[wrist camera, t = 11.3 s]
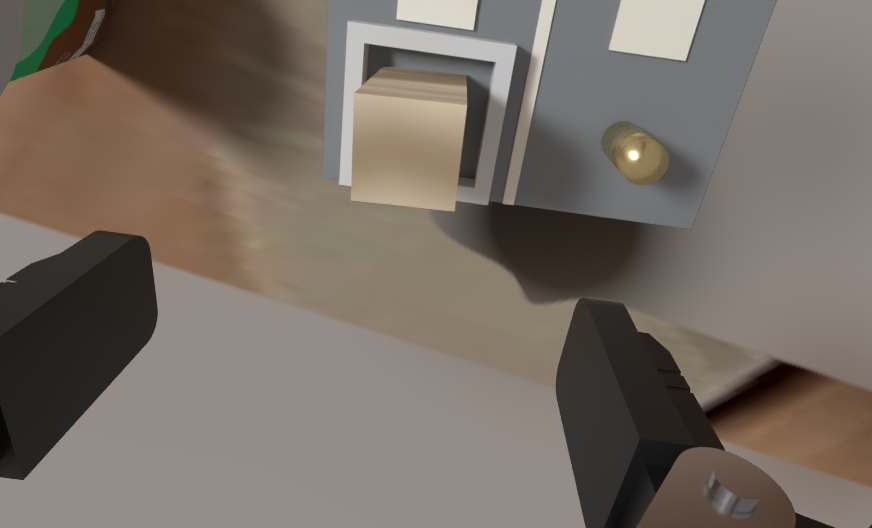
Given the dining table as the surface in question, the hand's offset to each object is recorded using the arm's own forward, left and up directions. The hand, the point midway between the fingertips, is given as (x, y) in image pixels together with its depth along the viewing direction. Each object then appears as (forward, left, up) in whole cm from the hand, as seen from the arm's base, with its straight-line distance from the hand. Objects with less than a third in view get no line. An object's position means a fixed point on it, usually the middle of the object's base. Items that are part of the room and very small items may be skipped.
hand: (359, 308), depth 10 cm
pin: (0, +10, -19) cm, 21 cm away
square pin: (0, 0, -19) cm, 19 cm away
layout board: (-2, +5, -20) cm, 21 cm away
